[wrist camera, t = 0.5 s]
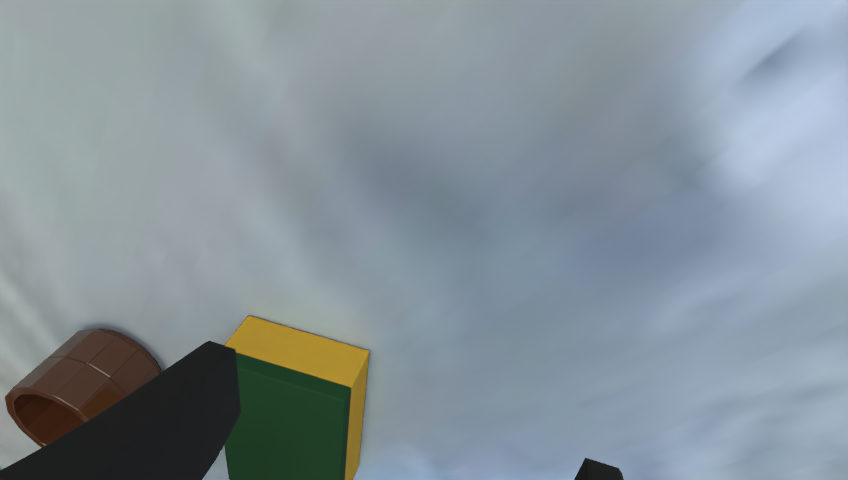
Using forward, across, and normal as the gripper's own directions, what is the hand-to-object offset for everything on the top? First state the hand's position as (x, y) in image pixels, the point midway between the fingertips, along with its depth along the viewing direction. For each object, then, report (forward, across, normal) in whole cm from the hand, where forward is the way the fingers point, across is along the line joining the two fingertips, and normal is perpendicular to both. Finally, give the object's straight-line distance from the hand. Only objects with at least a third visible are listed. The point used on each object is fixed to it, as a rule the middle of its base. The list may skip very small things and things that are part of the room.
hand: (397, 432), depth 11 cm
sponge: (+10, +6, +13) cm, 18 cm away
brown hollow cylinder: (+10, +17, +16) cm, 25 cm away
